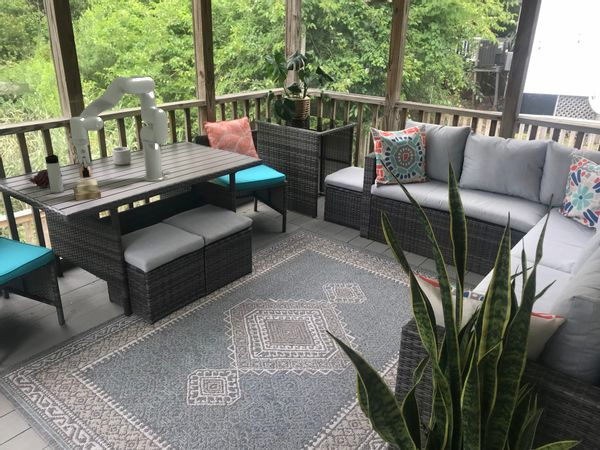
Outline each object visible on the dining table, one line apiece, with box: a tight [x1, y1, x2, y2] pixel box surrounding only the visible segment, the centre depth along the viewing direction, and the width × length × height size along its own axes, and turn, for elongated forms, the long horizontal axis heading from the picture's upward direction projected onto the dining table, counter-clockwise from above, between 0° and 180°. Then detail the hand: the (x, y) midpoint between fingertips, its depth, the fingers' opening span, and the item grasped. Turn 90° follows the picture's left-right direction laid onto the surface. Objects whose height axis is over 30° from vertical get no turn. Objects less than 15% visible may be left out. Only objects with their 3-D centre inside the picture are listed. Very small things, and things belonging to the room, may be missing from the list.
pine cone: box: [28, 169, 63, 189], centre depth 269 cm, size 18×10×10 cm, turn 139°
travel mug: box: [44, 154, 65, 195], centre depth 260 cm, size 6×7×20 cm
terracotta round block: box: [78, 165, 92, 179], centre depth 254 cm, size 6×6×5 cm
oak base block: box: [72, 187, 102, 202], centre depth 258 cm, size 12×12×4 cm
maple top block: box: [76, 178, 100, 194], centre depth 257 cm, size 10×10×4 cm
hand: (85, 175), depth 254 cm, fingers closed on terracotta round block, 5 cm apart
